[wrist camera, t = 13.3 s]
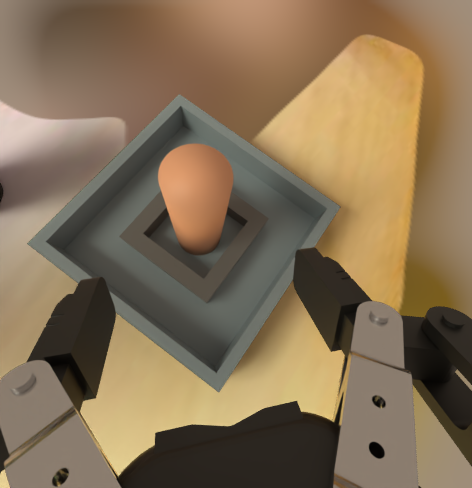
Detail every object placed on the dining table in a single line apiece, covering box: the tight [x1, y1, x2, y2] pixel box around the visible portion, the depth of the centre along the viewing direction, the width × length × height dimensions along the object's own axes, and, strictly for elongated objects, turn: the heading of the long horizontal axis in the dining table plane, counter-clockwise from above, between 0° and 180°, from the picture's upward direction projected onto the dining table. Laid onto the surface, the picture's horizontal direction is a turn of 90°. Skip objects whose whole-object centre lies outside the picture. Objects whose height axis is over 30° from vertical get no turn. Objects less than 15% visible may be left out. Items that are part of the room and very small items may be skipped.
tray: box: [27, 94, 340, 392], centre depth 27 cm, size 20×20×4 cm
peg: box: [158, 144, 233, 256], centre depth 22 cm, size 4×4×12 cm
